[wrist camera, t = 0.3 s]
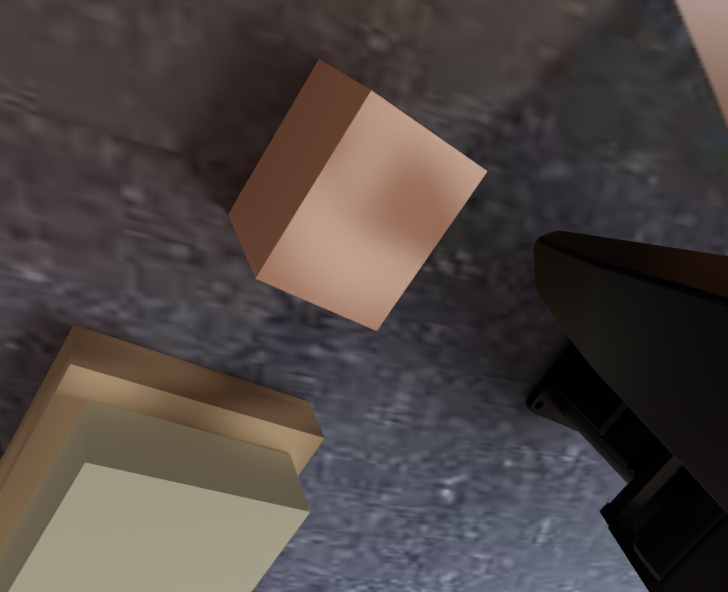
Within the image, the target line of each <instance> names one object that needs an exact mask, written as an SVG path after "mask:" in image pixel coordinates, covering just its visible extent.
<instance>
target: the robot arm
mask: <svg viewBox="0 0 728 592" xmlns="http://www.w3.org/2000/svg"><path fill="white" fill-rule="evenodd" d="M532 250H533V269H534V284H535V288H536V291H537V293H538V295H539V297H540V298H541V300H542V301H543V302H544V304H545V305H546V306H547V308H548V309H549V311H550V312H551V313H552V315H553V316H554V317H555V319H556V320H557V321H558V323H559V324H560V326H561V327H562V328H563V330H564V331H565V332H566V334H567V335H568V336H569V338H570V339H571V341H572V342H573V343H572V344H571V345H570V347H569V348H568V349H567V350H566V352H565V353H564V354H563V355H562V357H561V358H560V359H559V360H558V362H557V363H556V364H555V365H554V367H553V368H552V369H551V370H550V372H549V373H548V374H547V375H546V377H545V378H544V379H543V380H542V382H541V383H540V384H539V385H538V387H537V388H536V389H535V390H534V392H533V393H532V394H531V395H530V397H529V398H528V400H527V402H526V405H527V407H528V408H529V409H530V410H531V411H532V412H533V413H535V414H537V415H540V416H542V417H545V418H547V419H550V420H552V421H554V422H557V423H559V424H562V425H564V426H567V427H569V428H571V429H574V430H576V431H579V432H580V434H581V435H582V436H583V437H584V438H585V439H586V440H587V441H588V442H589V443H590V444H591V445H592V446H593V447H594V448H595V450H596V451H597V452H598V453H599V454H600V455H601V456H602V457H603V458H604V459H605V460H606V461H607V462H608V463H609V464H610V465H611V467H612V468H613V469H614V470H615V471H616V472H617V473H618V474H619V475H620V476H621V477H622V478H623V479H624V480H625V481H626V482H627V485H626V486H625V487H624V488H623V489H622V490H621V492H620V493H619V494H618V495H617V496H616V497H615V498H614V499H613V500H612V501H611V502H610V503H608V502H607V503H606V505H605V506H604V507H603V508H602V509H601V510H600V513H601V514H602V516H603V518H604V519H605V521H606V522H607V524H608V525H609V527H608V528H609V530H610V532H611V533H612V535H613V536H614V538H615V539H616V541H617V543H618V544H619V546H620V547H621V549H622V550H623V552H624V553H625V555H626V557H627V558H628V560H629V561H630V563H631V564H632V566H633V567H634V569H635V571H636V572H637V574H638V575H639V577H640V578H641V580H642V581H643V583H644V585H645V586H646V588H647V589H648V591H649V592H728V256H725V255H718V254H712V253H705V252H699V251H692V250H685V249H679V248H672V247H665V246H659V245H652V244H645V243H639V242H632V241H626V240H619V239H612V238H606V237H599V236H592V235H586V234H579V233H572V232H566V231H554V232H551V233H549V234H546V235H543V236H540V237H538V238H536V239H535V241H534V242H533V249H532Z"/></svg>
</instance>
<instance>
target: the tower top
mask: <svg viewBox="0 0 728 592" xmlns="http://www.w3.org/2000/svg"><path fill="white" fill-rule="evenodd" d="M309 513H310V510H309V507H308V504H307V501H306V498H305V495H304V493H303V490H302V487H301V484H300V481H299V478H298V475H297V472H296V469H295V466H294V464H293V461H292V458H291V455H290V454H287V453H283V452H280V451H276V450H272V449H269V448H265V447H261V446H258V445H254V444H250V443H247V442H243V441H240V440H236V439H232V438H229V437H225V436H221V435H218V434H214V433H210V432H207V431H203V430H200V429H196V428H192V427H189V426H185V425H181V424H178V423H174V422H170V421H167V420H163V419H160V418H156V417H152V416H149V415H145V414H141V413H138V412H134V411H130V410H127V409H123V408H120V407H116V406H112V405H109V404H105V403H101V402H98V401H94V400H90V399H88V400H87V402H86V404H85V405H84V407H83V409H82V411H81V412H80V414H79V416H78V418H77V419H76V421H75V423H74V425H73V426H72V428H71V430H70V431H69V433H68V435H67V437H66V438H65V440H64V442H63V444H62V445H61V447H60V449H59V450H58V452H57V454H56V456H55V457H54V459H53V461H52V463H51V464H50V466H49V468H48V469H47V471H46V473H45V475H44V476H43V478H42V480H41V482H40V483H39V485H38V487H37V489H36V490H35V492H34V494H33V495H32V497H31V499H30V501H29V502H28V504H27V506H26V508H25V509H24V511H23V513H22V514H21V516H20V518H19V520H18V521H17V523H16V525H15V527H14V528H13V530H12V532H11V534H10V535H9V537H8V539H7V540H6V542H5V544H4V546H3V547H2V549H1V551H0V592H252V590H253V589H254V588H255V586H256V585H257V584H258V582H259V581H260V579H261V578H262V577H263V575H264V574H265V573H266V571H267V570H268V569H269V567H270V566H271V565H272V563H273V562H274V560H275V559H276V558H277V556H278V555H279V554H280V552H281V551H282V550H283V548H284V547H285V546H286V544H287V543H288V541H289V540H290V539H291V537H292V536H293V535H294V533H295V532H296V531H297V529H298V528H299V527H300V525H301V524H302V522H303V521H304V520H305V518H306V517H307V516H308V514H309Z"/></svg>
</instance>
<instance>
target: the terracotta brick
mask: <svg viewBox="0 0 728 592" xmlns="http://www.w3.org/2000/svg"><path fill="white" fill-rule="evenodd" d="M486 173H487V171H486V170H485V169H483V168H482V167H481V166H479V165H478V164H476V163H475V162H473V161H472V160H471V159H469V158H468V157H466V156H465V155H463V154H462V153H461V152H459V151H458V150H456V149H455V148H453V147H452V146H450V145H449V144H448V143H446V142H445V141H443V140H442V139H440V138H439V137H438V136H436V135H435V134H433V133H432V132H430V131H429V130H428V129H426V128H425V127H423V126H422V125H420V124H419V123H417V122H416V121H415V120H413V119H412V118H410V117H409V116H407V115H406V114H405V113H403V112H402V111H400V110H399V109H397V108H396V107H395V106H393V105H392V104H390V103H389V102H387V101H386V100H384V99H383V98H382V97H380V96H379V95H377V94H376V93H374V92H373V91H372V90H370V89H368V88H367V87H365V86H363V85H362V84H360V83H358V82H357V81H355V80H353V79H352V78H350V77H348V76H347V75H345V74H343V73H342V72H340V71H338V70H337V69H335V68H333V67H332V66H330V65H328V64H327V63H325V62H323V61H322V60H320V59H319V60H318V61H317V63H316V65H315V67H314V68H313V70H312V72H311V73H310V75H309V77H308V79H307V80H306V82H305V84H304V85H303V87H302V89H301V90H300V92H299V94H298V96H297V97H296V99H295V101H294V102H293V104H292V106H291V108H290V109H289V111H288V113H287V114H286V116H285V118H284V120H283V121H282V123H281V125H280V126H279V128H278V130H277V132H276V133H275V135H274V137H273V138H272V140H271V142H270V144H269V145H268V147H267V149H266V150H265V152H264V154H263V156H262V157H261V159H260V161H259V162H258V164H257V166H256V168H255V169H254V171H253V173H252V174H251V176H250V178H249V179H248V181H247V183H246V185H245V186H244V188H243V190H242V191H241V193H240V195H239V197H238V198H237V200H236V202H235V203H234V205H233V207H232V209H231V210H230V212H229V214H228V215H229V217H230V220H231V222H232V224H233V227H234V229H235V232H236V234H237V236H238V239H239V241H240V243H241V246H242V248H243V250H244V253H245V255H246V258H247V260H248V262H249V265H250V267H251V269H252V272H253V274H254V276H255V279H257V280H260V281H262V282H264V283H267V284H269V285H271V286H274V287H276V288H278V289H281V290H283V291H285V292H287V293H290V294H292V295H294V296H297V297H299V298H301V299H304V300H306V301H308V302H311V303H313V304H315V305H318V306H320V307H322V308H325V309H327V310H329V311H332V312H334V313H336V314H338V315H341V316H343V317H345V318H348V319H350V320H352V321H355V322H357V323H359V324H362V325H364V326H366V327H369V328H371V329H373V330H376V331H377V330H378V328H379V327H380V325H381V324H382V323H383V321H384V320H385V318H386V317H387V315H388V314H389V312H390V311H391V310H392V308H393V307H394V305H395V304H396V302H397V301H398V299H399V298H400V297H401V295H402V294H403V292H404V291H405V289H406V288H407V287H408V285H409V284H410V282H411V281H412V279H413V278H414V276H415V275H416V274H417V272H418V271H419V269H420V268H421V266H422V265H423V263H424V262H425V261H426V259H427V258H428V256H429V255H430V253H431V252H432V250H433V249H434V248H435V246H436V245H437V243H438V242H439V240H440V239H441V238H442V236H443V235H444V233H445V232H446V230H447V229H448V227H449V226H450V225H451V223H452V222H453V220H454V219H455V217H456V216H457V214H458V213H459V212H460V210H461V209H462V207H463V206H464V204H465V203H466V202H467V200H468V199H469V197H470V196H471V194H472V193H473V191H474V190H475V189H476V187H477V186H478V184H479V183H480V181H481V180H482V178H483V177H484V176H485V174H486Z"/></svg>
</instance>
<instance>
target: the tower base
mask: <svg viewBox="0 0 728 592" xmlns="http://www.w3.org/2000/svg"><path fill="white" fill-rule="evenodd" d="M88 399H90V400H94V401H98V402H101V403H105V404H109V405H112V406H116V407H120V408H123V409H127V410H130V411H134V412H138V413H141V414H145V415H149V416H152V417H156V418H160V419H163V420H167V421H170V422H174V423H178V424H181V425H185V426H189V427H192V428H196V429H200V430H203V431H207V432H210V433H214V434H218V435H221V436H225V437H229V438H232V439H236V440H240V441H243V442H247V443H250V444H254V445H258V446H261V447H265V448H269V449H272V450H276V451H280V452H283V453H287V454H290V455H291V458H292V461H293V464H294V466H295V469H296V472H297V475H299V474H300V472H301V471H302V470H303V468H304V467H305V465H306V464H307V463H308V461H309V460H310V458H311V457H312V456H313V454H314V453H315V451H316V450H317V448H318V447H319V446H320V444H321V443H322V441H323V440H324V439H325V438H324V435H323V433H322V431H321V428H320V426H319V424H318V421H317V419H316V417H315V414H314V412H313V410H312V407H311V405H310V403H309V402H308V401H305V400H302V399H299V398H296V397H293V396H290V395H287V394H284V393H281V392H278V391H275V390H272V389H269V388H266V387H263V386H260V385H257V384H254V383H251V382H247V381H244V380H241V379H238V378H235V377H232V376H229V375H226V374H223V373H220V372H217V371H214V370H211V369H208V368H205V367H202V366H199V365H196V364H193V363H190V362H186V361H183V360H180V359H177V358H174V357H171V356H168V355H165V354H162V353H159V352H156V351H153V350H150V349H147V348H144V347H141V346H138V345H135V344H132V343H129V342H125V341H122V340H119V339H116V338H113V337H110V336H107V335H104V334H101V333H98V332H95V331H92V330H89V329H86V328H83V327H80V326H77V325H73V327H72V329H71V330H70V332H69V334H68V336H67V338H66V340H65V342H64V343H63V345H62V347H61V349H60V351H59V353H58V354H57V356H56V358H55V360H54V362H53V364H52V366H51V367H50V369H49V371H48V373H47V375H46V377H45V379H44V380H43V382H42V384H41V386H40V388H39V390H38V392H37V393H36V395H35V397H34V399H33V401H32V403H31V404H30V406H29V408H28V410H27V412H26V414H25V416H24V417H23V419H22V421H21V423H20V425H19V427H18V429H17V430H16V432H15V434H14V436H13V438H12V440H11V442H10V443H9V445H8V447H7V449H6V451H5V453H4V455H3V456H2V458H1V460H0V551H1V549H2V547H3V546H4V544H5V542H6V540H7V539H8V537H9V535H10V534H11V532H12V530H13V528H14V527H15V525H16V523H17V521H18V520H19V518H20V516H21V514H22V513H23V511H24V509H25V508H26V506H27V504H28V502H29V501H30V499H31V497H32V495H33V494H34V492H35V490H36V489H37V487H38V485H39V483H40V482H41V480H42V478H43V476H44V475H45V473H46V471H47V469H48V468H49V466H50V464H51V463H52V461H53V459H54V457H55V456H56V454H57V452H58V450H59V449H60V447H61V445H62V444H63V442H64V440H65V438H66V437H67V435H68V433H69V431H70V430H71V428H72V426H73V425H74V423H75V421H76V419H77V418H78V416H79V414H80V412H81V411H82V409H83V407H84V405H85V404H86V402H87V400H88Z"/></svg>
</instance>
